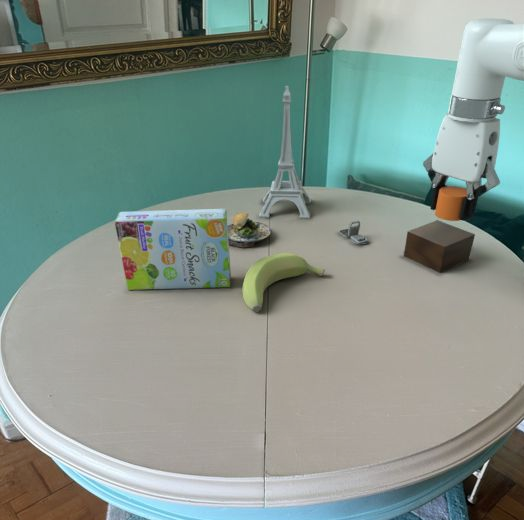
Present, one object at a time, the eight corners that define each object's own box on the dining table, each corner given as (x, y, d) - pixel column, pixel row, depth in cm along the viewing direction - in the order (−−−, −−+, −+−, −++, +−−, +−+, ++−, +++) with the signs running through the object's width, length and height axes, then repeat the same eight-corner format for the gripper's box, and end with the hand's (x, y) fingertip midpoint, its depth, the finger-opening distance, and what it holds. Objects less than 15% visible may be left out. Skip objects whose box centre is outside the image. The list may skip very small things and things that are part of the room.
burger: (257, 252, 119) (256, 221, 115) (213, 242, 124) (211, 212, 119) (279, 232, 128) (279, 203, 124) (238, 224, 132) (236, 195, 128)
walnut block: (469, 259, 115) (475, 234, 111) (439, 272, 110) (445, 246, 106) (432, 244, 121) (437, 219, 118) (403, 256, 116) (407, 231, 113)
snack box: (231, 275, 110) (227, 207, 102) (230, 288, 106) (225, 218, 97) (131, 278, 110) (118, 209, 101) (126, 291, 106) (112, 221, 97)
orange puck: (472, 215, 96) (478, 191, 93) (453, 223, 93) (459, 199, 90) (447, 207, 99) (452, 183, 97) (428, 214, 97) (432, 190, 94)
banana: (229, 253, 103) (317, 245, 110) (225, 274, 107) (310, 265, 114) (254, 299, 95) (346, 287, 103) (249, 320, 99) (338, 307, 107)
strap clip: (368, 243, 122) (370, 226, 120) (358, 246, 121) (360, 228, 119) (348, 230, 128) (350, 214, 126) (338, 232, 127) (339, 216, 125)
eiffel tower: (258, 217, 136) (255, 91, 118) (263, 199, 147) (261, 81, 129) (309, 218, 135) (314, 91, 117) (311, 200, 145) (315, 81, 128)
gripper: (534, 113, 82) (504, 222, 92) (444, 96, 93) (426, 195, 103) (507, 121, 78) (479, 233, 89) (416, 102, 89) (401, 204, 100)
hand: (451, 212), depth 96 cm, fingers closed on orange puck, 5 cm apart
